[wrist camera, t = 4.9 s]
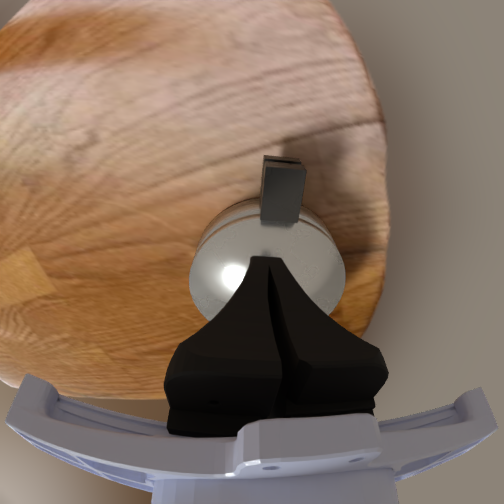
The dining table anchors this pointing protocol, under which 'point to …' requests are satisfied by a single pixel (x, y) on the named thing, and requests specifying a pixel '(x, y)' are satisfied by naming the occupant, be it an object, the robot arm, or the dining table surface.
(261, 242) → the lid
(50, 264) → the dining table surface
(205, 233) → the pot
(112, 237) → the dining table surface
